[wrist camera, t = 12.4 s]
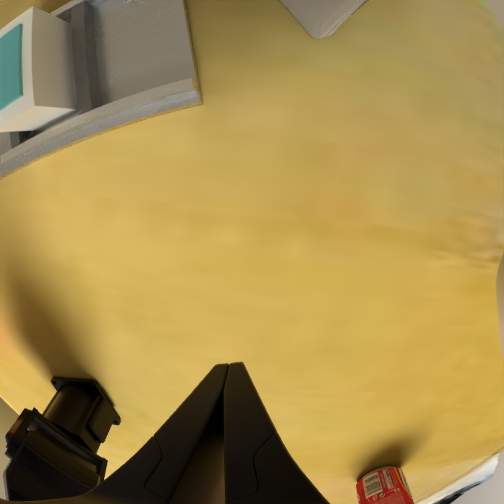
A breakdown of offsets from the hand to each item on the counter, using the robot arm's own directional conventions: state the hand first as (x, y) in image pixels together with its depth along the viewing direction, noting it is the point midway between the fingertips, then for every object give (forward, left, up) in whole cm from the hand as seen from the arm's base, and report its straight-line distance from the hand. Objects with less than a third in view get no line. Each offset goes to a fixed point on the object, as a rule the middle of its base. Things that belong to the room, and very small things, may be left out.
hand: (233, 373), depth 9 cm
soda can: (+12, -36, -12) cm, 40 cm away
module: (-11, +15, -11) cm, 22 cm away
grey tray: (-11, +15, -12) cm, 22 cm away
